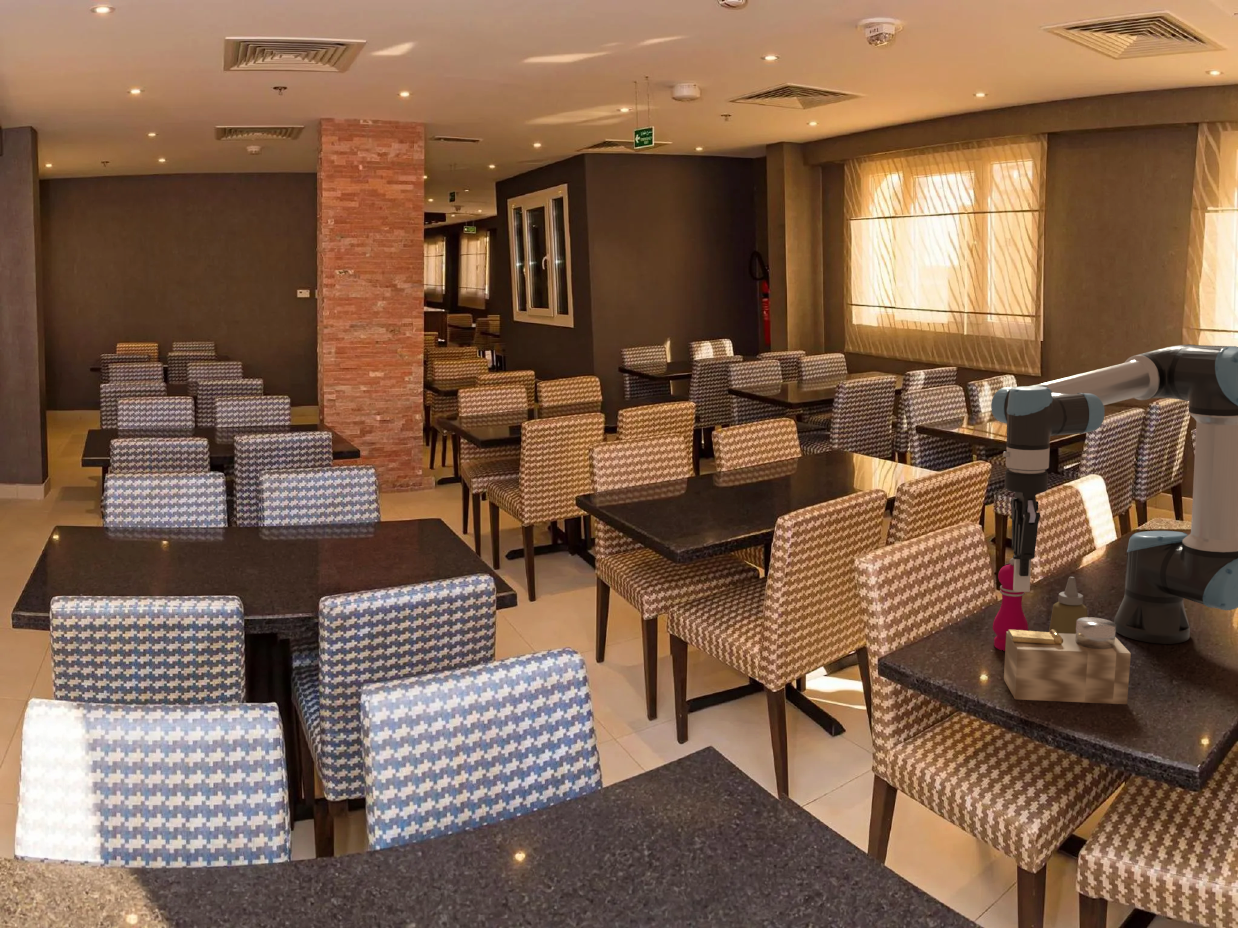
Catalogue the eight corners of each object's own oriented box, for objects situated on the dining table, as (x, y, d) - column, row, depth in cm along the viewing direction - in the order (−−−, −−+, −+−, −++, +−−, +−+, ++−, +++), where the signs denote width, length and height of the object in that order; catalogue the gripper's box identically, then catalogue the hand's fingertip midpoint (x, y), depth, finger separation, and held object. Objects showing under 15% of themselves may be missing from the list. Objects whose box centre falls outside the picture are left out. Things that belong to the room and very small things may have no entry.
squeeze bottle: (1085, 670, 208) (1090, 585, 204) (1042, 663, 212) (1047, 579, 209) (1090, 658, 214) (1096, 575, 211) (1049, 651, 219) (1054, 570, 215)
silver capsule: (1105, 676, 199) (1109, 617, 197) (1116, 690, 192) (1121, 629, 190) (1068, 675, 200) (1072, 616, 198) (1078, 688, 193) (1082, 628, 191)
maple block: (1110, 683, 201) (1113, 635, 199) (1126, 704, 191) (1130, 653, 189) (1003, 679, 204) (1006, 631, 202) (1014, 699, 194) (1017, 648, 192)
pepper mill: (1030, 653, 217) (1035, 563, 214) (994, 652, 219) (999, 561, 215) (1023, 642, 224) (1028, 554, 221) (989, 640, 226) (993, 552, 222)
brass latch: (1056, 637, 198) (1057, 629, 198) (1062, 645, 194) (1063, 637, 193) (1007, 633, 199) (1008, 625, 199) (1012, 641, 195) (1013, 633, 195)
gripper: (998, 463, 198) (993, 580, 202) (1013, 476, 185) (1008, 600, 190) (1039, 463, 197) (1033, 580, 201) (1056, 476, 184) (1050, 601, 188)
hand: (1021, 590), depth 195 cm, fingers closed
